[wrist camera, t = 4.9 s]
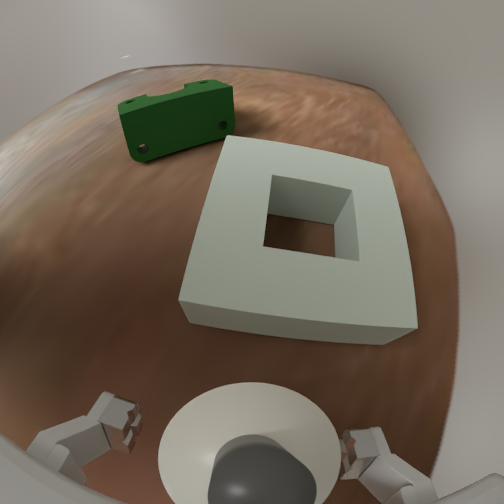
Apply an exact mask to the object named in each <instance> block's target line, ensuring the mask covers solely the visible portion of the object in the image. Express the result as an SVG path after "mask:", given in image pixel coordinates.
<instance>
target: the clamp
mask: <svg viewBox="0 0 504 504" xmlns="http://www.w3.org/2000/svg"><path fill="white" fill-rule="evenodd" d="M184 87H185V89H182V90H180V91H177V92H173V93H170V94H165V95H160V96H152V97H148V96H146V94H145V95H142V96H139V97H135V98H132V99H129V100H126V101H124V102H122V103H120V104H119V105H118V111H119V116H120V120H121V124H122V128H123V131H124V135H125V139H126V142H127V146H128V149H129V153H130V156H131V157H132V159H134V160H135V161H137V162H146V161H149V160H152V159H154V158H157V157H160V156H163V155H166V154H169V153H173V152H176V151H179V150H182V149H185V148H189V147H192V146H196V145H199V144H203V143H206V142H210V141H213V140H217V139H221V138H225V137H226V136H227V135H230V134H231V133H232V132H233V130H234V128H235V115H234V101H233V87H232V86H230V85H228V84H225V83H222V82H220V81H217V80H202V81H197V82H192V83H188V84H184ZM141 144H145V145H144V146H143V147H139V146H140V145H141Z"/></svg>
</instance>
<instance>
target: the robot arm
mask: <svg viewBox="0 0 504 504" xmlns="http://www.w3.org/2000/svg"><path fill="white" fill-rule="evenodd" d="M139 411H140V404H139V403H137V402H134V401H131V400H128V399H125V398H122V397H120V396H117V395H114V394H111V393H109V392H106V391H105V392H103V393H102V394H101V395H100V397H99V398H98V400H97V401H96V403H95V404H94V406H93V407H92V409H91V410H90V412H89V413H88V415H87V416H84V415H83V416H80V417H78V418H75V419H73V420H70V421H67V422H65V423H62V424H59V425H57V426H54V427H51V428H48V429H46V430H43V431H40V432H39V433H38V435H37V436H36V437H35V439H34V440H33V442H32V443H31V444H30V446H29V447H28V448H27V450H26V451H24V450H23V449H22V448H20V447H19V446H17V445H16V444H15V443H13V442H12V441H11V440H9V439H8V438H7V437H6V436H4V435H3V434H2V433H1V432H0V504H127V503H124V502H121V501H119V500H116V499H114V498H111V497H109V496H106V495H104V494H101V493H99V492H97V491H95V490H92V489H90V488H88V487H86V486H85V484H86V482H87V477H86V475H85V474H84V473H83V471H82V470H81V468H80V467H82V466H84V465H86V464H87V463H89V462H91V461H92V460H94V459H96V458H97V457H99V456H101V455H102V454H104V453H106V452H107V451H109V450H111V448H112V449H115V450H118V451H120V452H123V453H126V454H131V451H132V449H133V447H134V445H135V440H134V438H135V437H136V436H138V435H139V433H140V431H141V427H142V415H141V414H140V413H139ZM342 436H343V438H342V439H340V440H339V443H340V448H341V464H340V470H339V474H338V475H339V480H346V479H357V478H358V480H359V481H360V482H361V483H362V484H363V485H364V486H365V487H366V488H367V489H368V490H369V491H370V492H371V494H372V495H373V496H374V497H375V498H376V499H377V500H378V501H379V502H380V503H381V504H504V477H503V476H501V475H499V474H496V473H494V474H490V475H488V476H486V477H485V478H483V479H481V480H479V481H477V482H475V483H473V484H471V485H469V486H467V487H465V488H463V489H461V490H459V491H457V492H454V493H452V494H450V495H448V496H445V497H443V498H440V499H438V498H437V495H436V493H435V490H434V488H433V486H432V483H431V480H430V478H428V477H427V476H425V475H424V474H422V473H421V472H419V471H418V470H416V469H415V468H413V467H412V466H411V465H409V464H408V463H406V462H405V461H404V460H402V459H401V458H399V457H398V456H397V455H395V454H391V452H390V449H389V447H388V444H387V442H386V439H385V437H384V434H383V432H382V429H381V428H380V427H371V428H356V429H346V430H345V431H344V432H343V434H342Z"/></svg>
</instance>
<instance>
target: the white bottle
mask: <svg viewBox="0 0 504 504" xmlns="http://www.w3.org/2000/svg"><path fill="white" fill-rule="evenodd" d="M340 464H341V448H340V443H339V439H338V436H337V433H336V431H335V428H334V427H333V425H332V423H331V421H330V420H329V418H328V417H327V416H326V415H325V413H324V412H323V411H322V410H321V409H320V408H319V407H318V406H317V405H316V404H314V403H313V402H312V401H310V400H309V399H308V398H306V397H304V396H303V395H301V394H299V393H297V392H295V391H292V390H290V389H288V388H285V387H281V386H278V385H273V384H267V383H256V382H246V383H236V384H229V385H225V386H221V387H218V388H215V389H212V390H210V391H207V392H205V393H203V394H201V395H199V396H198V397H196V398H194V399H193V400H191V401H190V402H188V403H187V404H186V405H184V406H183V407H182V408H181V409H180V410H179V411H178V412H177V413H176V414H175V416H174V417H173V418H172V419H171V421H170V422H169V424H168V426H167V427H166V429H165V431H164V433H163V436H162V439H161V442H160V446H159V452H158V466H159V472H160V476H161V480H162V482H163V485H164V487H165V489H166V491H167V493H168V494H169V496H170V497H171V499H172V500H173V501H174V503H175V504H322V503H323V502H324V501H325V500H326V498H327V497H328V496H329V494H330V493H331V491H332V489H333V487H334V485H335V483H336V480H337V478H338V474H339V470H340Z"/></svg>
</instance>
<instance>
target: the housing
mask: <svg viewBox="0 0 504 504" xmlns="http://www.w3.org/2000/svg"><path fill="white" fill-rule="evenodd" d="M267 214H273V215H279V216H285V217H291V218H297V219H303V220H309V221H315V222H320V223H326V224H331V225H334V236H335V258H334V257H328V256H321V255H315V254H309V253H302V252H296V251H289V250H283V249H276V248H270V247H263V242H264V235H265V227H266V219H267ZM178 301H179V303H180V305H181V307H182V309H183V311H184V313H185V315H186V317H187V319H188V321H189V323H193V324H199V325H204V326H210V327H215V328H221V329H227V330H234V331H240V332H247V333H254V334H261V335H269V336H277V337H285V338H294V339H303V340H314V341H325V342H338V343H353V344H371V345H384V344H386V343H389V342H391V341H393V340H395V339H397V338H399V337H401V336H403V335H405V334H408V333H410V332H412V331H414V330H416V329H417V328H418V324H417V311H416V300H415V291H414V283H413V276H412V269H411V263H410V257H409V251H408V245H407V240H406V235H405V230H404V225H403V221H402V216H401V212H400V208H399V204H398V200H397V196H396V192H395V188H394V185H393V181H392V178H391V174H390V171H389V168H388V167H386V166H383V165H379V164H376V163H372V162H368V161H365V160H361V159H357V158H353V157H349V156H345V155H341V154H336V153H332V152H327V151H323V150H318V149H313V148H308V147H303V146H298V145H292V144H286V143H280V142H274V141H268V140H261V139H254V138H246V137H238V136H230V135H227V136H226V139H225V142H224V145H223V148H222V151H221V154H220V157H219V160H218V163H217V166H216V169H215V172H214V175H213V178H212V181H211V184H210V188H209V191H208V194H207V197H206V200H205V204H204V207H203V210H202V214H201V217H200V220H199V224H198V227H197V231H196V234H195V238H194V241H193V245H192V248H191V252H190V256H189V259H188V263H187V267H186V271H185V275H184V279H183V282H182V286H181V290H180V294H179V299H178Z"/></svg>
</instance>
